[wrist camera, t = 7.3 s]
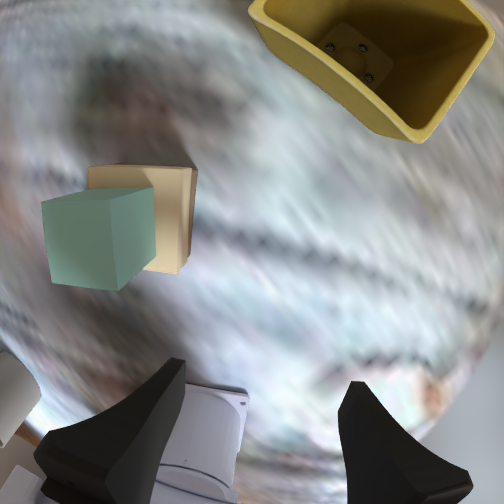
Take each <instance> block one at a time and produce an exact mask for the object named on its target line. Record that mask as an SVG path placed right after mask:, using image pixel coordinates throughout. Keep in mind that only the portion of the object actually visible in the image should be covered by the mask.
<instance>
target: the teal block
mask: <svg viewBox="0 0 504 504" xmlns="http://www.w3.org/2000/svg"><path fill="white" fill-rule="evenodd" d="M41 204H42V216H43V226H44V235H45V242H46V249H47V256H48V262H49V268H50V274H51V279H52V283H57V284H64V285H71V286H78V287H86V288H94V289H102V290H110V291H119V290H120V289H122V288H123V287H124V286H125V285H126V284H127V283H128V282H129V281H130V280H131V279H132V278H133V277H134V276H135V275H136V274H138V273H139V272H140V271H141V270H142V269H143V268H144V267H145V266H146V265H147V264H148V263H150V262H151V261H152V260H153V259H154V258H155V257H156V239H155V215H154V187H120V188H94V189H90V190H85V191H81V192H77V193H73V194H69V195H65V196H62V197H58V198H54V199H50V200H47V201H43V202H41Z"/></svg>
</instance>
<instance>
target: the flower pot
mask: <svg viewBox="0 0 504 504" xmlns="http://www.w3.org/2000/svg"><path fill="white" fill-rule="evenodd" d="M248 13H249V15H250V17H251V19H252V20H253V22H254V24H255V26H256V28H257V30H258V32H259V33H260V35H261V37H262V39H263V41H264V42H265V44H266V46H267V47H268V49H269V50H270V51H271V52H272V53H273V54H274V55H275V56H276V57H277V58H279V59H280V60H281V61H283V62H284V63H286V64H288V65H289V66H291V67H292V68H293V69H295V70H296V71H298V72H299V73H301V74H302V75H303V76H305V77H306V78H308V79H309V80H310V81H312V82H313V83H314V84H316V85H317V86H318V87H320V88H321V89H322V90H324V91H325V92H326V93H327V94H329V95H330V96H331V97H332V98H334V99H335V100H336V101H337V102H338V103H340V104H341V105H342V106H343V107H344V108H346V109H347V110H348V111H349V112H350V113H351V114H352V115H353V116H355V117H356V118H357V119H358V120H359V121H360V122H361V123H362V124H363V125H365V126H366V127H367V128H368V129H370V130H371V131H373V132H374V133H376V134H379V135H382V136H386V137H390V138H394V139H399V140H403V141H407V142H411V143H416V144H421V143H423V142H424V141H426V140H427V139H428V137H429V136H430V135H431V134H432V132H433V131H434V130H435V128H436V127H437V126H438V124H439V123H440V121H441V120H442V119H443V117H444V115H445V114H446V112H447V111H448V109H449V108H450V106H451V105H452V104H453V102H454V101H455V99H456V98H457V96H458V95H459V93H460V92H461V90H462V89H463V87H464V86H465V84H466V83H467V81H468V80H469V78H470V77H471V75H472V74H473V72H474V71H475V69H476V68H477V66H478V65H479V63H480V62H481V61H482V59H483V58H484V56H485V55H486V53H487V52H488V50H489V49H490V47H491V45H492V44H493V41H494V37H495V32H494V30H493V29H492V27H491V26H490V25H489V24H488V22H487V21H486V20H485V19H484V18H483V17H482V16H481V15H480V14H479V13H478V12H477V11H476V10H475V9H474V8H473V7H472V6H471V5H470V4H469V3H468V2H467V1H466V0H254V1H253V2H252V3H251V5H250V6H249V7H248ZM327 45H333V46H334V47H335V50H334V51H332V52H331V51H328V50H327V48H326V46H327ZM360 45H364V46H365V47H366V49H367V50H366V51H365V52H362V51H361V50H360V49H359V46H360ZM367 74H369V75H371V76H372V81H371V82H368V81H366V79H365V75H367Z"/></svg>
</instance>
